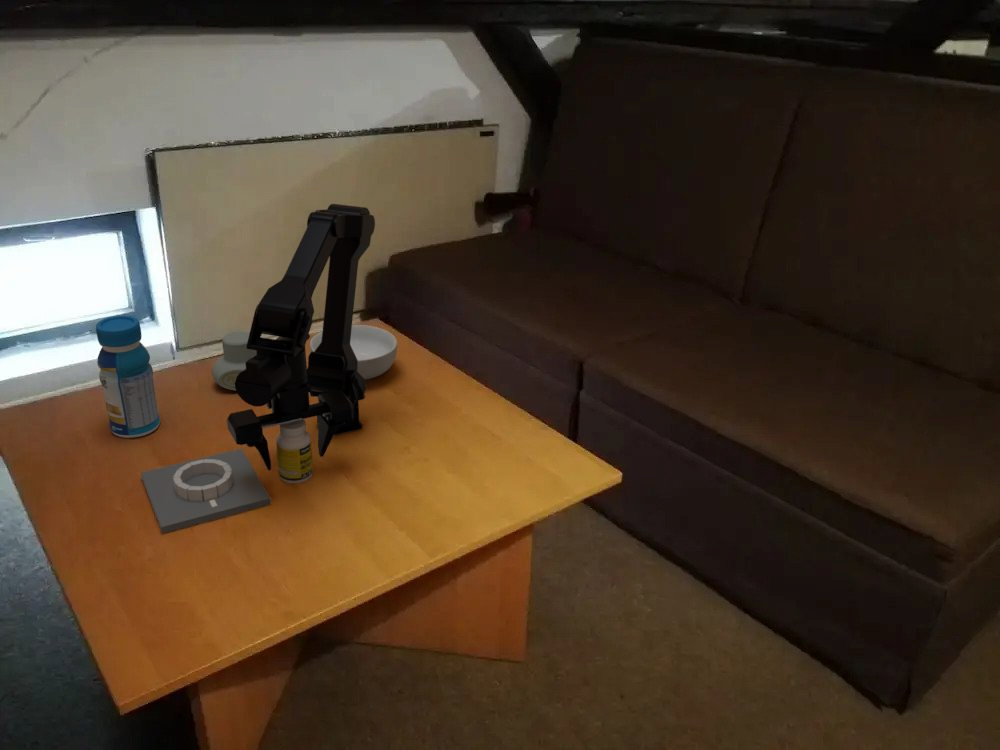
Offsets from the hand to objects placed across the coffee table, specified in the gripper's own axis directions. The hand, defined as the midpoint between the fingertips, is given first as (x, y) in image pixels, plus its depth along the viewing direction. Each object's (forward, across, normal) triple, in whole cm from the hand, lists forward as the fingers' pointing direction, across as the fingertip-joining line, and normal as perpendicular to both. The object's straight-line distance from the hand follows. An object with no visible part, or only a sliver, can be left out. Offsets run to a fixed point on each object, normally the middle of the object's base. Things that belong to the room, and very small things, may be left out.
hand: (295, 462), depth 140 cm
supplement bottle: (+3, 0, 0) cm, 3 cm away
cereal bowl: (+3, -22, -30) cm, 37 cm away
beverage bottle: (+3, +20, -27) cm, 34 cm away
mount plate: (+2, +14, -2) cm, 14 cm away
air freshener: (+3, -1, -35) cm, 35 cm away
